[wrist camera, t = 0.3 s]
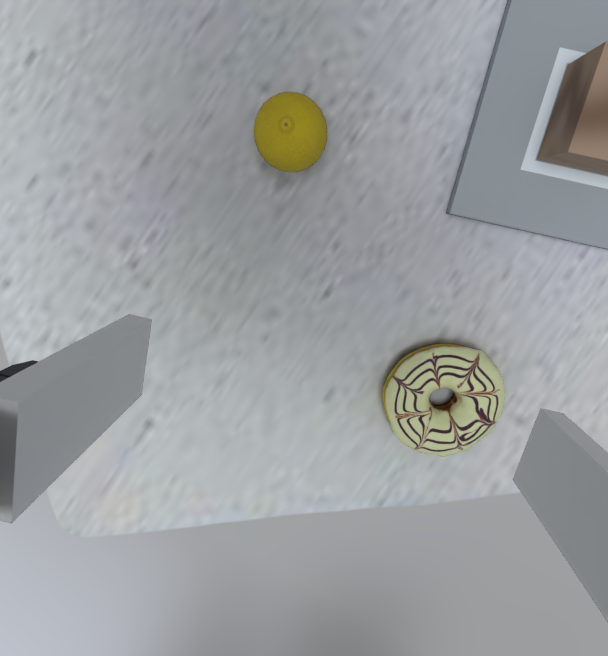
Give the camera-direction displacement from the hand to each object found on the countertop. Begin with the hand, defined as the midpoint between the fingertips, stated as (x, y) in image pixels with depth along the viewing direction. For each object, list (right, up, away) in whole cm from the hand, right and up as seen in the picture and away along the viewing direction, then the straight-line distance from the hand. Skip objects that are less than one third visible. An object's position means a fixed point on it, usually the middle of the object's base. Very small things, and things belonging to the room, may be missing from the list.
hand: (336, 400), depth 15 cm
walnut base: (+22, +18, +21) cm, 35 cm away
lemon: (-2, +18, +24) cm, 30 cm away
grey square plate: (+22, +19, +22) cm, 36 cm away
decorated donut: (+12, -4, +29) cm, 31 cm away
